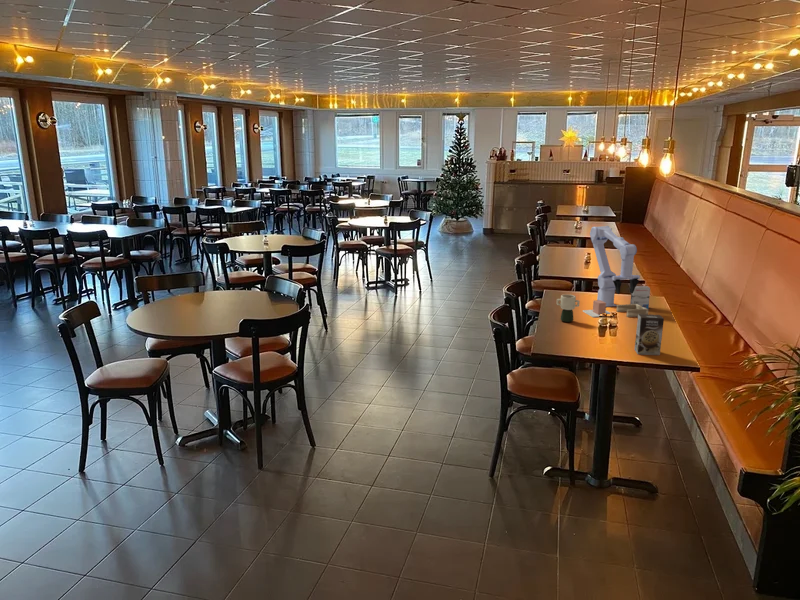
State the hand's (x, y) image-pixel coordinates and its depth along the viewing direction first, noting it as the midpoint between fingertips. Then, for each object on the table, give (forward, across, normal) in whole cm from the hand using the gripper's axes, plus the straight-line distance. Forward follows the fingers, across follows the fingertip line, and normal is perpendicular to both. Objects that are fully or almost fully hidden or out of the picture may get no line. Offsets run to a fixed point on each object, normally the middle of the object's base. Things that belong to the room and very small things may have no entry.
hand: (624, 293), depth 314 cm
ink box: (+10, +12, +5) cm, 16 cm away
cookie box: (+10, -24, -63) cm, 68 cm away
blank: (+9, -15, -2) cm, 18 cm away
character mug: (+10, -37, -12) cm, 40 cm away
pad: (+10, -15, -2) cm, 18 cm away
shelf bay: (+10, +2, -5) cm, 11 cm away
